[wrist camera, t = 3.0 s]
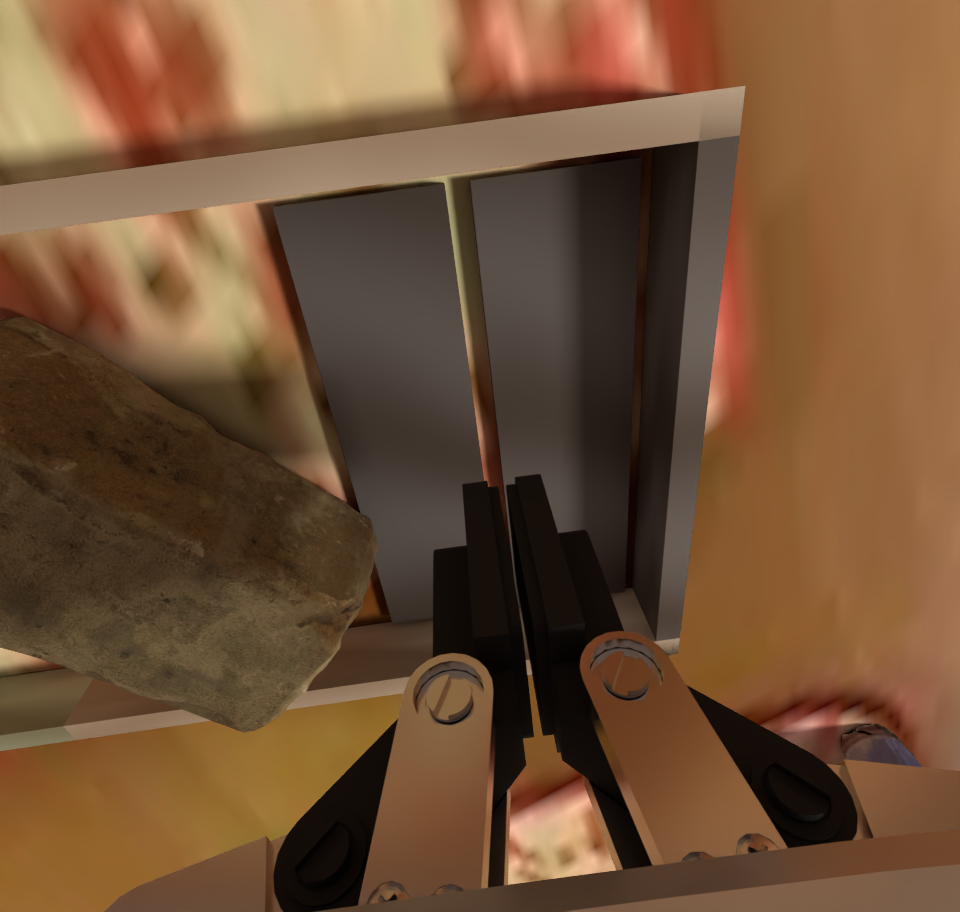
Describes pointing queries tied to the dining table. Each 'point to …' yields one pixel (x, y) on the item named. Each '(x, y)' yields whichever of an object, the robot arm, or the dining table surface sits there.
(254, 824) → the dining table surface
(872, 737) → the flask
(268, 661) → the stone block
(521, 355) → the box
